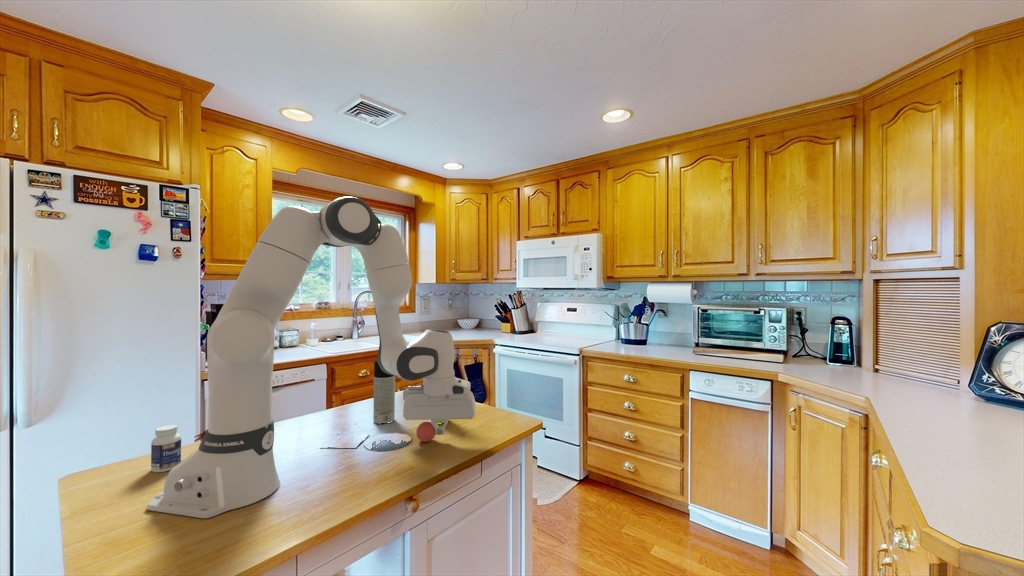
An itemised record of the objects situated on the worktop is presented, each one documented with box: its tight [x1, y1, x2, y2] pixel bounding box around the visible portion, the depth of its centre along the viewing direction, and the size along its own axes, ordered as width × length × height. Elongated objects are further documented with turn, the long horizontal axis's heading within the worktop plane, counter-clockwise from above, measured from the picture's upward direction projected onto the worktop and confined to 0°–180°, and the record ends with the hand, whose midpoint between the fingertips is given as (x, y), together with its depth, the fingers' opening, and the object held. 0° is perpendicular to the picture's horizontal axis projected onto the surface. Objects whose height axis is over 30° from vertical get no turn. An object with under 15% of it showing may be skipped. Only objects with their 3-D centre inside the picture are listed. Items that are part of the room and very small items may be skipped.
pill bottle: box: [150, 424, 182, 473], centre depth 92 cm, size 5×5×10 cm
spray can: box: [372, 359, 396, 424], centre depth 126 cm, size 7×7×20 cm
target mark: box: [370, 438, 413, 452], centre depth 109 cm, size 13×13×1 cm
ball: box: [415, 421, 436, 443], centre depth 109 cm, size 6×6×6 cm
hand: (440, 434), depth 109 cm, fingers closed
